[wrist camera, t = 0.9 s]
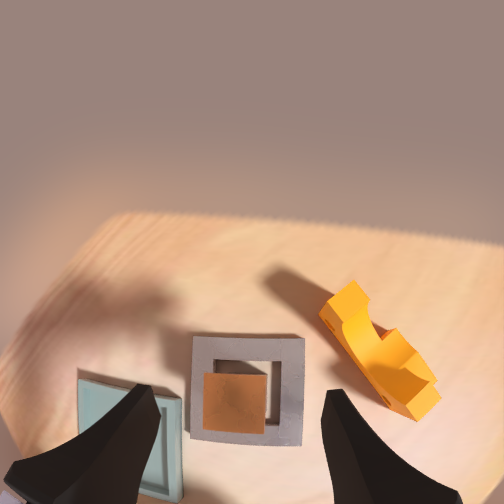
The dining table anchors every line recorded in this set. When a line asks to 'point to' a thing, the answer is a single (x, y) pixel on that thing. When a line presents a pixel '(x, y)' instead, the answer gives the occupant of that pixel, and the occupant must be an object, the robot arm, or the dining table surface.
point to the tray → (166, 444)
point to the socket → (252, 350)
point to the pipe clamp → (381, 355)
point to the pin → (235, 402)
